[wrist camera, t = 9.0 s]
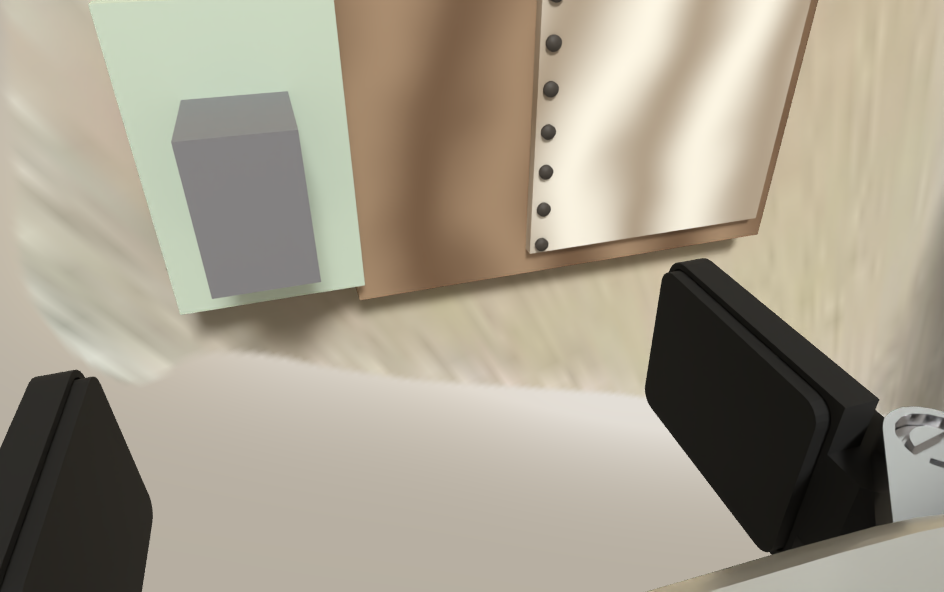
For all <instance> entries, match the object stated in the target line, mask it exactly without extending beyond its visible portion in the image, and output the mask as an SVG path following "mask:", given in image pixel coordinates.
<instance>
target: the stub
mask: <svg viewBox="0 0 944 592" xmlns="http://www.w3.org/2000/svg"><path fill="white" fill-rule="evenodd" d="M88 5H89V9H90V12H91V15H92V19H93V22H94V25H95V29H96V32H97V36H98V39H99V42H100V46H101V49H102V52H103V56H104V59H105V62H106V66H107V69H108V73H109V76H110V79H111V83H112V86H113V89H114V93H115V96H116V99H117V103H118V106H119V110H120V113H121V116H122V120H123V123H124V126H125V130H126V133H127V136H128V140H129V143H130V147H131V150H132V153H133V157H134V160H135V163H136V167H137V170H138V174H139V177H140V180H141V184H142V187H143V190H144V194H145V197H146V200H147V204H148V207H149V211H150V214H151V217H152V221H153V224H154V227H155V231H156V234H157V237H158V241H159V244H160V248H161V251H162V254H163V258H164V261H165V264H166V268H167V271H168V274H169V278H170V281H171V285H172V288H173V291H174V295H175V298H176V301H177V305H178V308H179V312H180V315H183V314H189V313H196V312H202V311H208V310H214V309H221V308H227V307H233V306H239V305H245V304H252V303H258V302H264V301H270V300H277V299H283V298H289V297H295V296H302V295H308V294H314V293H320V292H326V291H333V290H339V289H345V288H351V287H358V286H364V285H365V281H364V272H363V263H362V253H361V244H360V235H359V226H358V217H357V208H356V199H355V189H354V180H353V171H352V162H351V153H350V144H349V135H348V125H347V116H346V107H345V98H344V89H343V80H342V71H341V61H340V52H339V43H338V34H337V25H336V16H335V7H334V0H96V1H91V2H90V3H89V4H88Z"/></svg>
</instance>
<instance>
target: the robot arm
mask: <svg viewBox="0 0 944 592" xmlns="http://www.w3.org/2000/svg"><path fill="white" fill-rule="evenodd" d="M645 394H646V398H647V401H648V403H649V405H650V406H651V408H652V409H653V411H654V412H655V413H656V414H657V416H658V417H659V419H660V420H661V421H662V423H663V424H664V425H665V427H666V428H667V429H668V430H669V432H670V433H671V434H672V436H673V437H674V438H675V440H676V441H677V442H678V444H679V445H680V446H681V447H682V449H683V450H684V451H685V453H686V454H687V455H688V457H689V458H690V459H691V461H692V462H693V463H694V464H695V466H696V467H697V468H698V470H699V471H700V472H701V474H702V475H703V476H704V478H705V479H706V480H707V481H708V483H709V484H710V485H711V487H712V488H713V489H714V491H715V492H716V493H717V495H718V496H719V497H720V498H721V500H722V501H723V502H724V504H725V505H726V506H727V508H728V509H729V510H730V512H732V514H733V515H734V517H735V518H736V520H737V521H738V522H739V523H740V525H741V526H742V527H743V529H744V530H745V531H746V532H747V534H748V535H749V536H750V538H751V539H752V540H753V542H754V543H755V544H756V545H757V547H758V548H760V549H761V550H762V551H765V552H770V553H771V554H772V555H770V556H767V557H763V558H759V559H756V560H753V561H749V562H746V563H743V564H739V565H736V566H732V567H729V568H726V569H722V570H719V571H715V572H712V573H708V574H705V575H701V576H698V577H695V578H691V579H688V580H685V581H681V582H678V583H674V584H671V585H667V586H664V587H660V588H657V589H654V590H651V591H647V592H944V412H942V411H939V410H936V409H931V408H924V407H917V406H915V407H901V408H898V409H896V410H893V411H891V412H890V413H889V414H888V415H887V416H886V417H885V418H884V417H883V416H882V415H881V414H879V413H878V412H877V411H876V410H875V409H876V406H877V404H878V401H879V399H878V398H877V397H876V396H875V395H873V394H872V393H871V392H870V391H869V390H867V389H866V388H865V387H864V386H862V385H861V384H860V383H859V382H858V381H856V380H855V379H854V378H853V377H852V376H850V375H849V374H848V373H847V372H845V371H844V370H843V369H842V368H841V367H839V366H838V365H837V364H836V363H834V362H833V361H832V360H831V359H830V358H828V357H827V356H826V355H825V354H824V353H822V352H821V351H820V350H819V349H817V348H816V347H815V346H814V345H813V344H811V343H810V342H809V341H808V340H806V339H805V338H804V337H803V336H802V335H800V334H799V333H798V332H797V331H796V330H794V329H793V328H792V327H791V326H789V325H788V324H787V323H786V322H785V321H783V320H782V319H781V318H780V317H779V316H777V315H776V314H775V313H774V312H772V311H771V310H770V309H769V308H768V307H766V306H765V305H764V304H763V303H761V302H760V301H759V300H758V299H757V298H755V297H754V296H753V295H752V294H751V293H749V292H748V291H747V290H746V289H744V288H743V287H742V286H741V285H740V284H738V283H737V282H736V281H735V280H733V279H732V278H731V277H730V276H729V275H727V274H726V273H725V272H724V271H723V270H721V269H720V268H719V267H718V266H716V265H715V264H714V263H713V262H712V261H710V260H708V259H706V258H701V259H696V260H690V261H685V262H679V263H675V264H674V265H672V267H671V268H670V271H669V272H668V273H666V274H664V276H663V278H662V282H661V288H660V295H659V301H658V308H657V314H656V320H655V327H654V333H653V339H652V346H651V352H650V359H649V365H648V371H647V378H646V384H645ZM152 519H153V512H152V505H151V500H150V497H149V494H148V492H147V490H146V488H145V485H144V483H143V481H142V479H141V476H140V474H139V471H138V469H137V467H136V465H135V462H134V460H133V458H132V455H131V453H130V451H129V449H128V446H127V444H126V442H125V439H124V437H123V435H122V432H121V430H120V428H119V426H118V423H117V421H116V419H115V416H114V414H113V412H112V409H111V407H110V405H109V403H108V400H107V398H106V396H105V393H104V391H103V389H102V387H101V384H100V383H99V381H98V379H97V378H96V377H88V378H85V377H84V375H83V374H82V373H81V372H80V371H78V370H72V371H67V372H60V373H55V374H50V375H44V376H38V377H34V378H32V379H31V381H30V382H29V384H28V386H27V389H26V391H25V393H24V396H23V398H22V400H21V402H20V405H19V407H18V410H17V411H16V414H15V416H14V418H13V421H12V423H11V425H10V427H9V430H8V432H7V434H6V436H5V439H4V441H3V443H2V446H1V448H0V592H142V585H143V580H144V573H145V567H146V560H147V553H148V547H149V540H150V533H151V527H152Z"/></svg>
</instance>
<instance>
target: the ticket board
mask: <svg viewBox="0 0 944 592" xmlns="http://www.w3.org/2000/svg"><path fill="white" fill-rule="evenodd" d="M817 3H818V0H334V7H335V16H336V25H337V34H338V43H339V52H340V61H341V71H342V80H343V89H344V98H345V107H346V116H347V125H348V135H349V144H350V153H351V162H352V171H353V180H354V189H355V199H356V208H357V217H358V226H359V235H360V244H361V253H362V263H363V272H364V281H365V285H364V286H358V287H356V290H357V293H358V296H359V299H360V300H364V299H370V298H376V297H382V296H388V295H395V294H401V293H407V292H413V291H419V290H425V289H431V288H437V287H443V286H449V285H455V284H461V283H467V282H473V281H479V280H485V279H491V278H497V277H503V276H509V275H515V274H521V273H527V272H533V271H539V270H545V269H551V268H557V267H563V266H569V265H575V264H581V263H587V262H593V261H599V260H606V259H612V258H618V257H624V256H630V255H636V254H642V253H648V252H654V251H660V250H666V249H672V248H678V247H684V246H690V245H696V244H702V243H708V242H714V241H720V240H726V239H732V238H738V237H744V236H750V235H756V234H758V230H759V227H760V223H761V219H762V215H763V211H764V207H765V203H766V200H767V196H768V192H769V188H770V184H771V180H772V176H773V173H774V169H775V165H776V161H777V157H778V153H779V149H780V146H781V142H782V138H783V134H784V130H785V126H786V122H787V119H788V115H789V111H790V107H791V103H792V99H793V95H794V92H795V88H796V84H797V80H798V76H799V72H800V68H801V65H802V61H803V57H804V53H805V49H806V45H807V41H808V38H809V34H810V30H811V26H812V22H813V18H814V14H815V11H816V7H817Z"/></svg>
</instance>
